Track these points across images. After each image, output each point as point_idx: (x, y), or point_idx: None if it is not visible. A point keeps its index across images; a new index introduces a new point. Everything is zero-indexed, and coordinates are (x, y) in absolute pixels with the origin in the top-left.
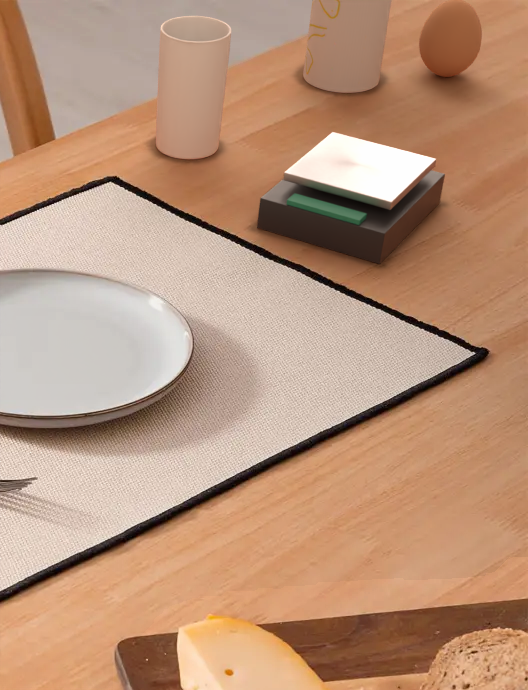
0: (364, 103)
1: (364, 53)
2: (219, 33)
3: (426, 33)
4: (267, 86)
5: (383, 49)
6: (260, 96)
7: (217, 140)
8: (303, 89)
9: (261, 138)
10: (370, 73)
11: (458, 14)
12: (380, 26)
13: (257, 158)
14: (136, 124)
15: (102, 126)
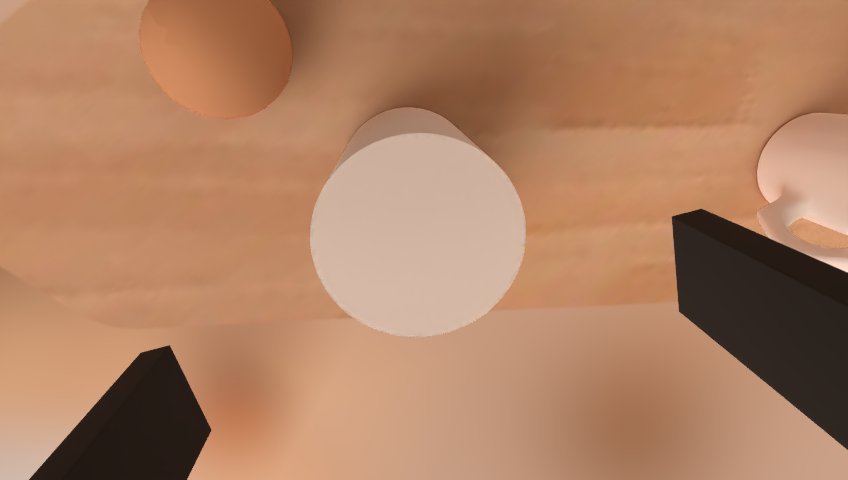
0: (468, 74)
1: (443, 120)
2: None
3: (278, 78)
4: (527, 233)
5: (376, 120)
6: (568, 214)
7: (816, 116)
8: None
9: (707, 103)
10: (418, 110)
11: (223, 12)
12: (414, 118)
13: (777, 54)
14: None
15: None
